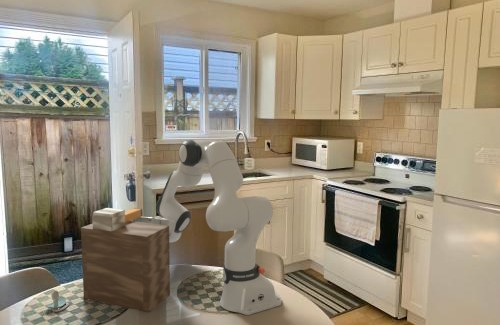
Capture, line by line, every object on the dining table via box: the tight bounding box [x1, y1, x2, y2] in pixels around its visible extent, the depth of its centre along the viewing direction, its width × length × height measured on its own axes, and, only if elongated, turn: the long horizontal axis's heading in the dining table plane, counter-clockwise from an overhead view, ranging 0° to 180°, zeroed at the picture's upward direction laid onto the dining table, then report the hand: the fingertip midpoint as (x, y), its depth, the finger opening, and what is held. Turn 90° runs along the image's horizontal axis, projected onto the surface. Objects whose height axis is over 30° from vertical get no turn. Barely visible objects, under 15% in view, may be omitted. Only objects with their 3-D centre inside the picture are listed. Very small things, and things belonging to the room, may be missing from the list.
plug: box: [125, 207, 144, 223], centre depth 147 cm, size 18×4×3 cm, turn 161°
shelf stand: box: [80, 207, 171, 313], centre depth 141 cm, size 14×28×33 cm, turn 71°
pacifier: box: [45, 290, 70, 313], centre depth 134 cm, size 7×6×6 cm
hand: (141, 217), depth 157 cm, fingers open, 8 cm apart
